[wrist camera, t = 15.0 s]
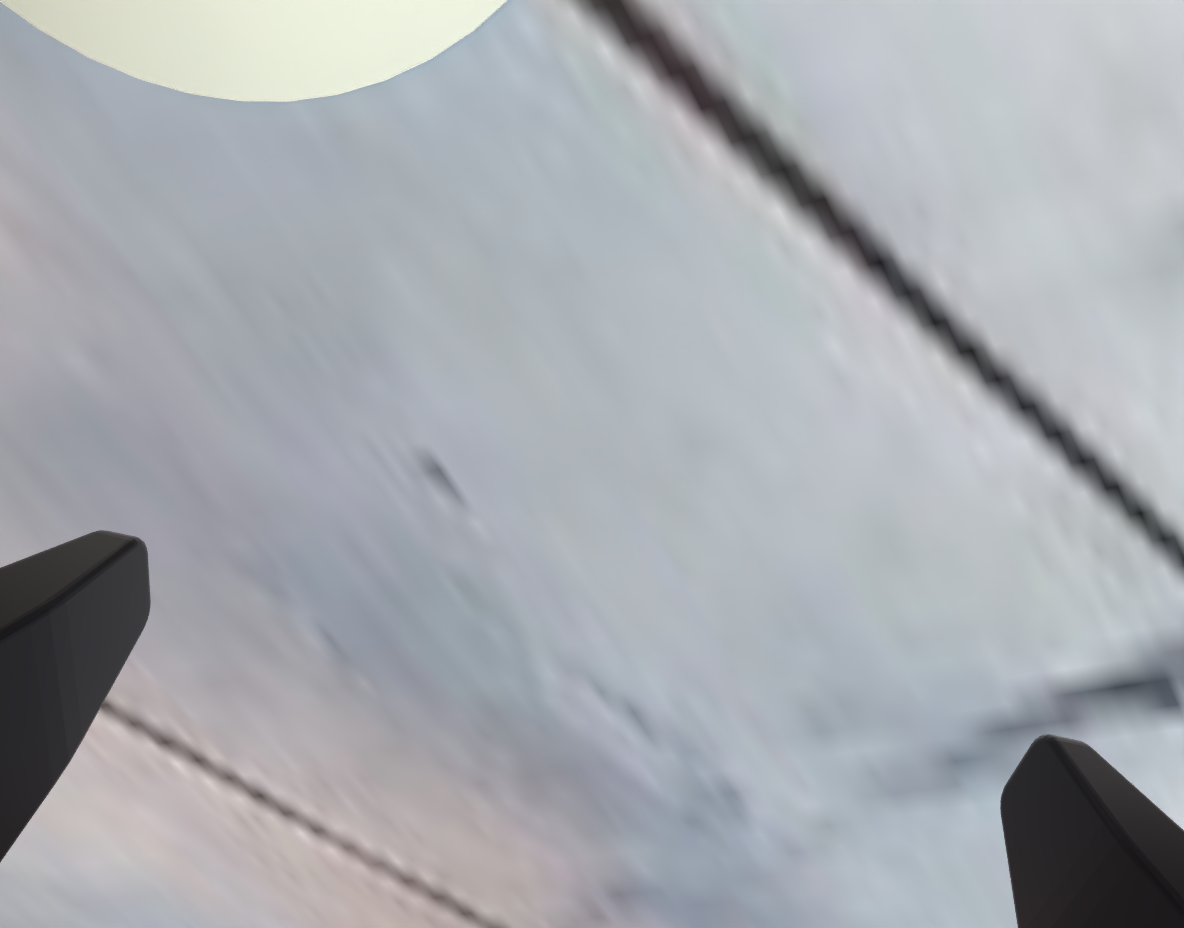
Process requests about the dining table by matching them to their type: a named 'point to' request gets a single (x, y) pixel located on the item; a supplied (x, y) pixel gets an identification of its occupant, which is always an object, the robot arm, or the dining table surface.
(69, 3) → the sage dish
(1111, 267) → the dining table surface
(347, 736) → the dining table surface
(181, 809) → the dining table surface
